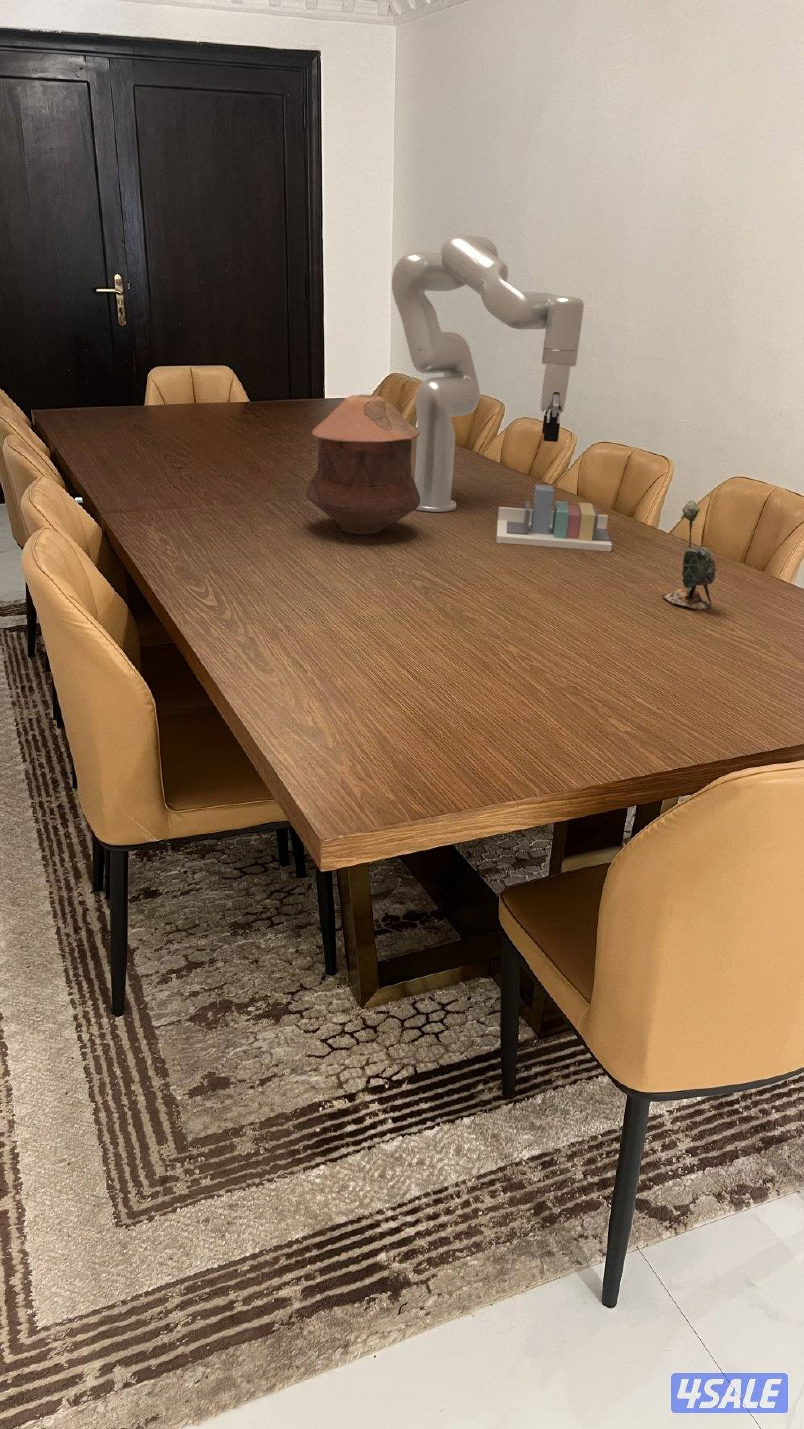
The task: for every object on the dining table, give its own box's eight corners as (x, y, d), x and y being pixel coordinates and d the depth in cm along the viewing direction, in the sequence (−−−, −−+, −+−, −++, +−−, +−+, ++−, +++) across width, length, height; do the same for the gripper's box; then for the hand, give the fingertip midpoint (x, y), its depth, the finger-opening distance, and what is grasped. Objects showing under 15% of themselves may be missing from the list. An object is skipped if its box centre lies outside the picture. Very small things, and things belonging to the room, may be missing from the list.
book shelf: (496, 542, 232) (499, 509, 228) (497, 525, 246) (500, 494, 243) (611, 551, 230) (615, 518, 227) (605, 533, 244) (609, 502, 241)
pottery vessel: (435, 527, 240) (444, 396, 228) (388, 552, 219) (396, 409, 207) (339, 511, 250) (342, 384, 237) (285, 533, 229) (286, 395, 216)
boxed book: (531, 533, 235) (536, 489, 231) (531, 526, 240) (535, 484, 236) (548, 534, 235) (553, 491, 231) (547, 528, 240) (552, 485, 236)
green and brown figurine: (683, 615, 192) (702, 510, 183) (657, 596, 201) (673, 495, 193) (722, 614, 193) (742, 510, 185) (694, 595, 203) (712, 495, 195)
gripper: (541, 352, 229) (532, 429, 237) (543, 360, 214) (533, 442, 221) (574, 354, 229) (564, 432, 236) (579, 363, 213) (568, 445, 221)
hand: (549, 437), depth 229 cm, fingers open, 9 cm apart
